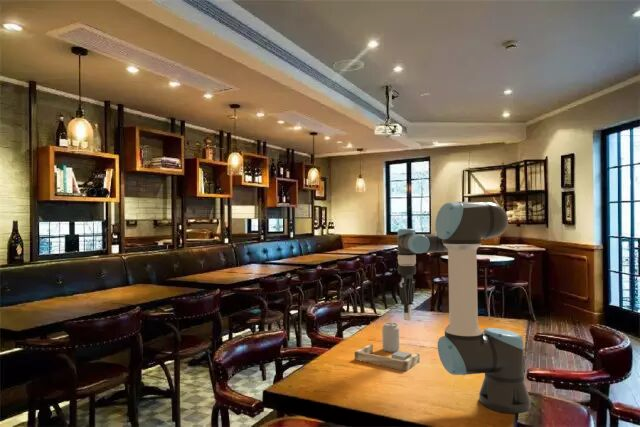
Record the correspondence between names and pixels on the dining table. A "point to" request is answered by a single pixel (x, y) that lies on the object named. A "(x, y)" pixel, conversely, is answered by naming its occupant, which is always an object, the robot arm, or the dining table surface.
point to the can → (390, 337)
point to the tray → (386, 359)
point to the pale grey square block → (401, 355)
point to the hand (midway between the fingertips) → (407, 319)
